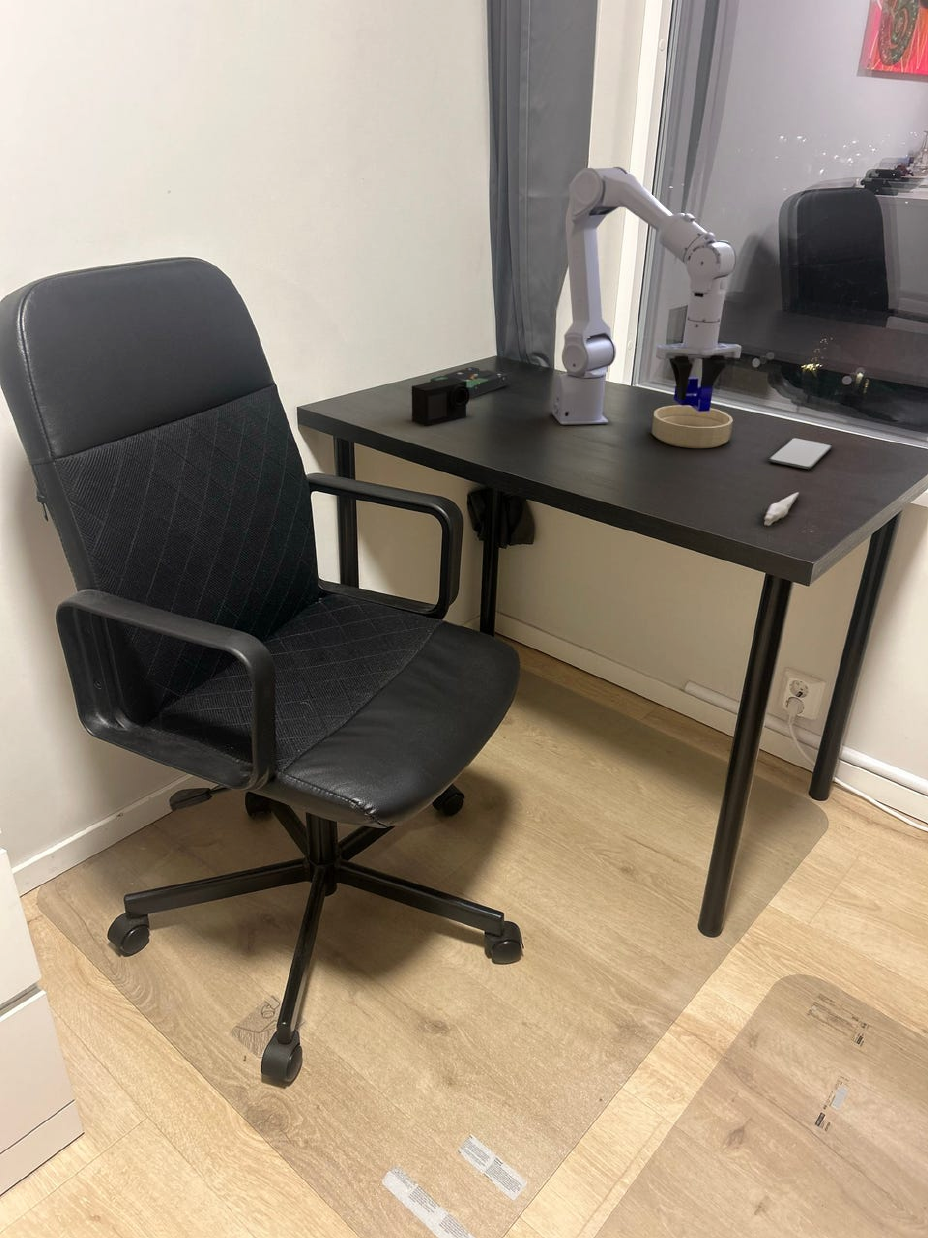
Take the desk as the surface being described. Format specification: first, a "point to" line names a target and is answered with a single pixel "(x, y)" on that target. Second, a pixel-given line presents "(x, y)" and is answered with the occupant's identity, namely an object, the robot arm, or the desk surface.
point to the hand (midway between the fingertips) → (691, 399)
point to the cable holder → (696, 396)
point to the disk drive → (477, 380)
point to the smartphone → (800, 453)
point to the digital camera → (439, 401)
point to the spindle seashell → (779, 509)
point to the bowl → (691, 426)
